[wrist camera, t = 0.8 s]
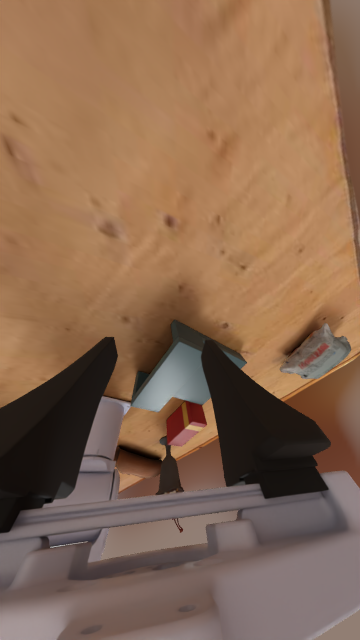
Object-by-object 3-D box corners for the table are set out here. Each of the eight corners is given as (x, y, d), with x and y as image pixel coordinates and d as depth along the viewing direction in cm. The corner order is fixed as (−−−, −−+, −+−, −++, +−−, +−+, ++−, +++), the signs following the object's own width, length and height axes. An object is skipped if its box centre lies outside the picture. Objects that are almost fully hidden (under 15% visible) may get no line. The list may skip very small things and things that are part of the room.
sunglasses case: (99, 458, 38) (99, 485, 32) (117, 434, 40) (120, 455, 34) (144, 469, 46) (151, 492, 40) (158, 448, 48) (165, 467, 42)
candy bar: (179, 422, 36) (181, 446, 32) (166, 420, 35) (167, 444, 30) (201, 401, 33) (207, 424, 28) (187, 397, 31) (192, 421, 27)
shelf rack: (199, 394, 32) (207, 423, 26) (136, 374, 26) (130, 406, 21) (240, 353, 27) (259, 378, 22) (174, 319, 21) (179, 341, 16)
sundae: (182, 440, 41) (193, 530, 28) (163, 447, 41) (164, 539, 28) (173, 431, 38) (181, 528, 25) (152, 439, 38) (148, 539, 25)
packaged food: (271, 361, 29) (290, 380, 25) (315, 318, 25) (347, 331, 21) (294, 370, 32) (315, 389, 28) (336, 332, 28) (369, 347, 24)
